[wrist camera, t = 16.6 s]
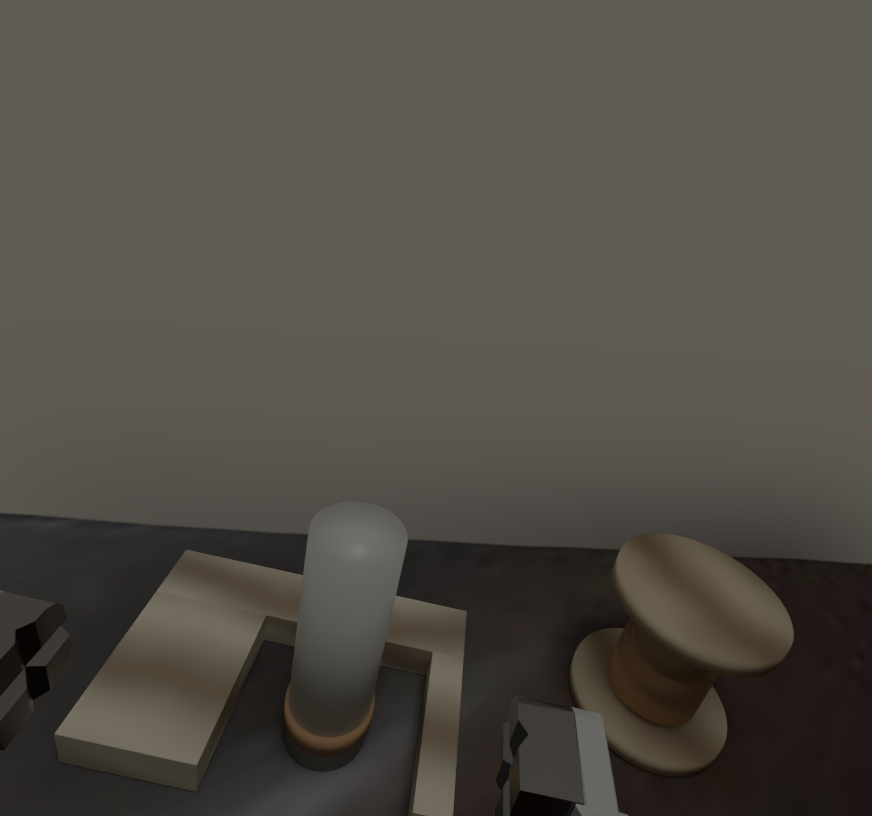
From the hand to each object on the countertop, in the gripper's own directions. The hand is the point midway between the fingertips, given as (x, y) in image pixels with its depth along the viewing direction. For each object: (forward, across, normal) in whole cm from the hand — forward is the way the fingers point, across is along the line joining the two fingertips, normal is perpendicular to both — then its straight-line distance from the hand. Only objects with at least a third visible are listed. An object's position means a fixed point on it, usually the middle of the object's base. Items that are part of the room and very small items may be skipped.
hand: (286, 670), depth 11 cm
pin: (+11, +1, +20) cm, 23 cm away
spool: (+18, -17, +20) cm, 32 cm away
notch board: (+13, +3, +20) cm, 24 cm away
